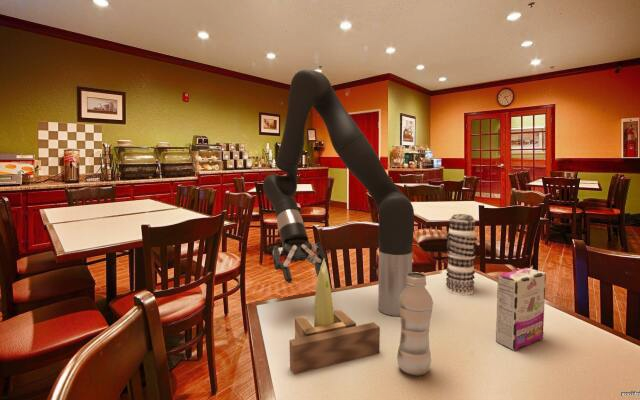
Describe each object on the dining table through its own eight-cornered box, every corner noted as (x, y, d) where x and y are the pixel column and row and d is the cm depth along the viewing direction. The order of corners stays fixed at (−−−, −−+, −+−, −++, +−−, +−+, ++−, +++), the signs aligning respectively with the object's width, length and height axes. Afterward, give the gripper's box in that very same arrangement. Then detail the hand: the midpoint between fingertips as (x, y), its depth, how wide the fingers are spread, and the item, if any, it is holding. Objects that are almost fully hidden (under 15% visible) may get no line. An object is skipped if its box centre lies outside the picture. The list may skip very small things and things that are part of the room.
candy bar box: (522, 330, 86) (526, 266, 84) (543, 339, 81) (547, 272, 80) (493, 341, 81) (496, 274, 79) (514, 352, 76) (518, 280, 74)
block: (340, 332, 85) (340, 309, 85) (356, 348, 78) (356, 323, 77) (295, 342, 81) (294, 318, 80) (306, 360, 74) (306, 333, 73)
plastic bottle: (392, 362, 73) (394, 270, 71) (423, 360, 73) (426, 269, 71) (402, 381, 66) (404, 281, 64) (436, 379, 67) (439, 279, 65)
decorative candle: (439, 286, 116) (441, 213, 113) (462, 284, 118) (465, 212, 115) (455, 297, 107) (458, 218, 104) (481, 294, 109) (484, 216, 107)
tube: (341, 345, 79) (338, 263, 77) (323, 353, 76) (320, 267, 74) (327, 336, 84) (324, 257, 82) (309, 342, 81) (306, 261, 79)
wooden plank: (373, 347, 79) (373, 322, 78) (379, 352, 76) (379, 327, 76) (290, 367, 71) (289, 339, 71) (293, 374, 69) (293, 345, 68)
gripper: (269, 223, 94) (282, 276, 84) (317, 219, 99) (334, 269, 90) (265, 238, 99) (276, 290, 90) (311, 234, 105) (326, 282, 95)
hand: (305, 279), depth 90 cm, fingers open, 8 cm apart
